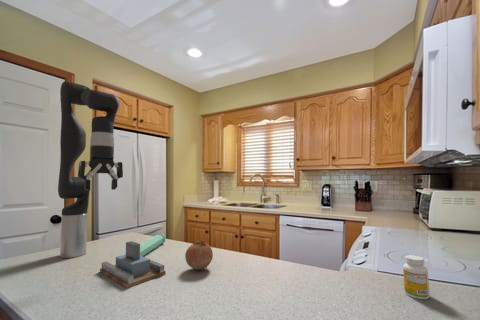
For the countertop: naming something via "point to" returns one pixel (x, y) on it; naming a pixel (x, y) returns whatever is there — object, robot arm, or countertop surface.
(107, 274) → the tray
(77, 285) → the countertop surface
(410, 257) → the supplement bottle
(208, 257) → the onion
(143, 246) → the mint green cylinder
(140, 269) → the blue block with handle
